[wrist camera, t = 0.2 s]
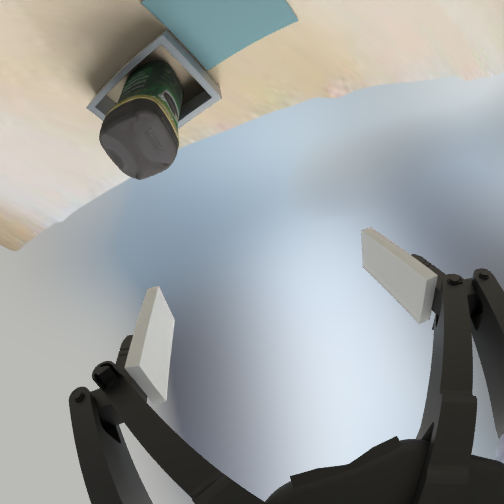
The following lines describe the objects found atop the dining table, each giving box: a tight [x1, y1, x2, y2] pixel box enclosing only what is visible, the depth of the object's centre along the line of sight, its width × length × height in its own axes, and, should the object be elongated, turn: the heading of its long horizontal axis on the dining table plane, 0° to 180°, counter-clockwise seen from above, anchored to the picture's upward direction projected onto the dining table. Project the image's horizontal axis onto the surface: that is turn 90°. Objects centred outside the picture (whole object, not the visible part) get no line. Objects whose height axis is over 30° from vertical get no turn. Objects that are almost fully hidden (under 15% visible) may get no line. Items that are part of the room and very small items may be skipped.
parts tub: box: [87, 30, 222, 129], centre depth 34 cm, size 13×15×5 cm
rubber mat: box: [141, 0, 298, 71], centre depth 25 cm, size 16×16×1 cm
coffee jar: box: [99, 61, 183, 180], centre depth 30 cm, size 10×8×19 cm
